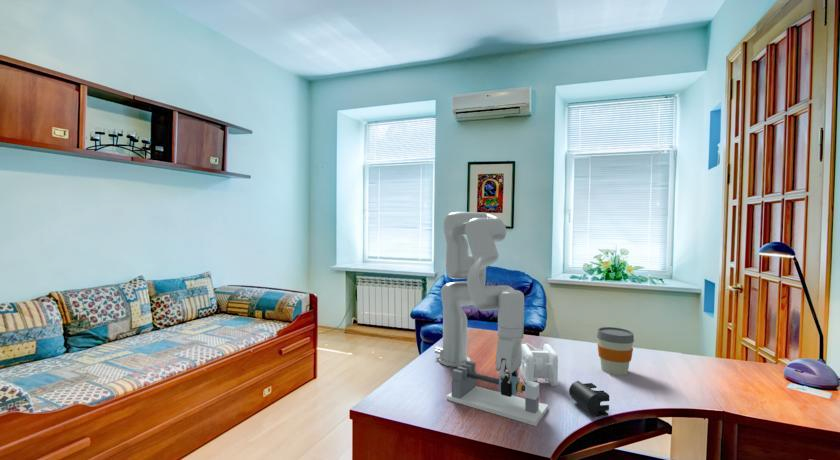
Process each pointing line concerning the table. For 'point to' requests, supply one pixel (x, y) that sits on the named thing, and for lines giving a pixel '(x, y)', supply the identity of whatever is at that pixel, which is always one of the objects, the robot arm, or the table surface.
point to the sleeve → (514, 381)
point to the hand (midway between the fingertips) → (509, 391)
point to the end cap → (589, 398)
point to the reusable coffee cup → (615, 349)
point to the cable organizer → (539, 364)
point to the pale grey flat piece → (535, 348)
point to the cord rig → (496, 396)
